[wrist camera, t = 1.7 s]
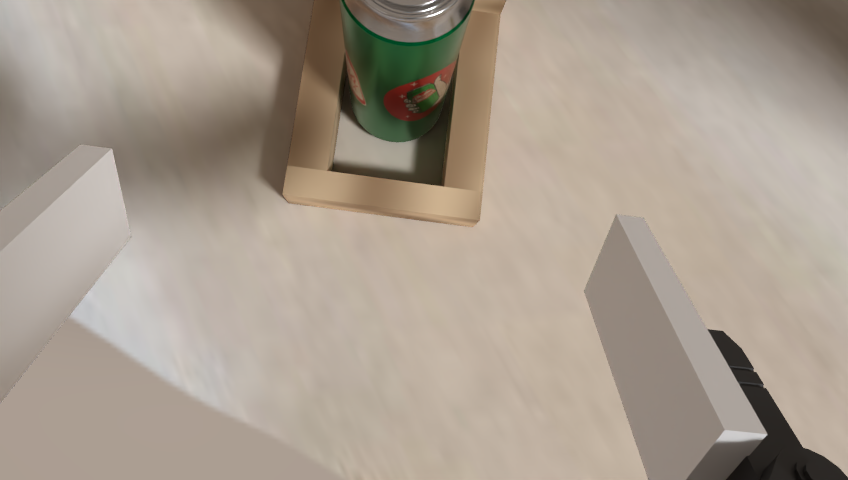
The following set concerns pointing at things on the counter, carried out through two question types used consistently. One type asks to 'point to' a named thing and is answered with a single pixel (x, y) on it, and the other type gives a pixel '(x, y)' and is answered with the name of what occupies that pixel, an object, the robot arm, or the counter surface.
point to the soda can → (401, 61)
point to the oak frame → (342, 191)
